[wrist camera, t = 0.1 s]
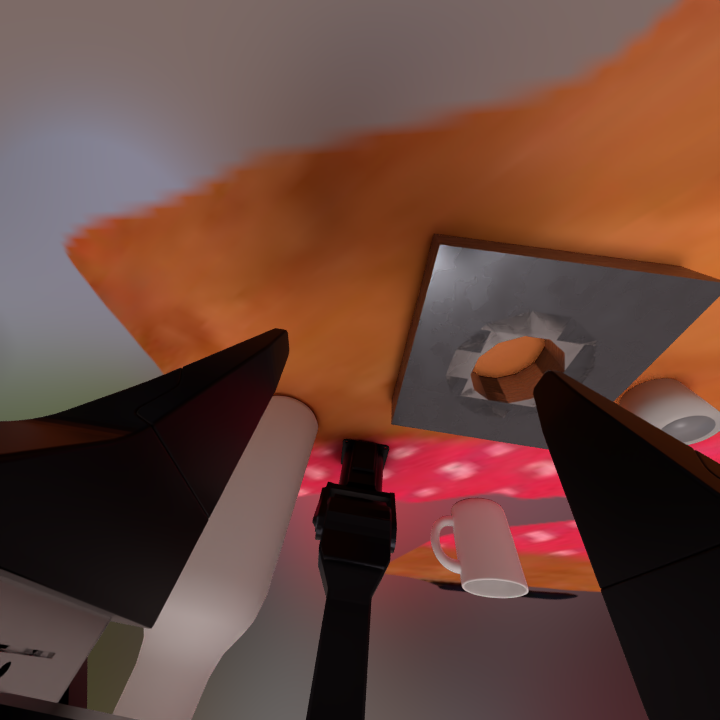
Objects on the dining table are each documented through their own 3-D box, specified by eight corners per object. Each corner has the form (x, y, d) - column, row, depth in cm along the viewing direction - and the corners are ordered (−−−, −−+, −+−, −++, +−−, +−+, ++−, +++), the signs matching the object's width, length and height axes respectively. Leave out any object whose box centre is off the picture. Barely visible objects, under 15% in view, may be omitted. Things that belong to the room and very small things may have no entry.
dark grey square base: (547, 425, 29) (562, 451, 27) (391, 400, 30) (391, 424, 27) (681, 266, 19) (732, 283, 16) (433, 233, 19) (439, 244, 16)
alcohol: (333, 422, 34) (176, 1036, 10) (292, 444, 38) (110, 914, 14) (281, 381, 30) (-148, 1164, 6) (242, 410, 34) (-109, 953, 11)
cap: (655, 417, 27) (691, 451, 24) (607, 409, 27) (635, 442, 24) (698, 382, 24) (745, 416, 21) (643, 374, 24) (681, 406, 21)
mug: (425, 514, 46) (430, 589, 38) (430, 491, 41) (438, 571, 33) (495, 522, 45) (517, 601, 36) (509, 499, 40) (538, 585, 32)
